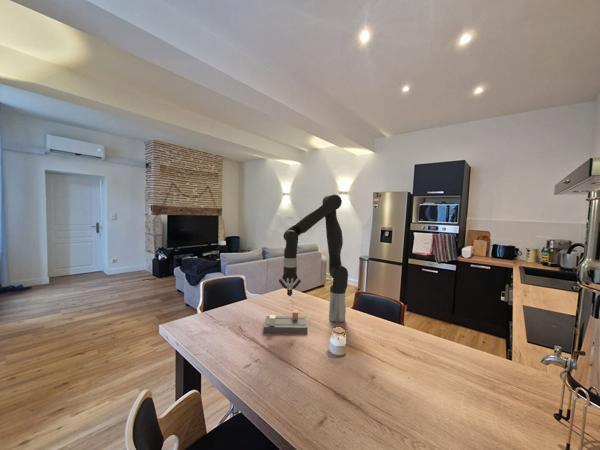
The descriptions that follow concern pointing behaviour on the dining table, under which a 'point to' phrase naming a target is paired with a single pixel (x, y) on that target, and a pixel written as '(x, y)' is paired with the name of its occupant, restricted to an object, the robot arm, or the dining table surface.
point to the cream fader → (272, 320)
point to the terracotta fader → (295, 315)
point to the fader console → (286, 325)
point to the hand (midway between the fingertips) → (289, 295)
